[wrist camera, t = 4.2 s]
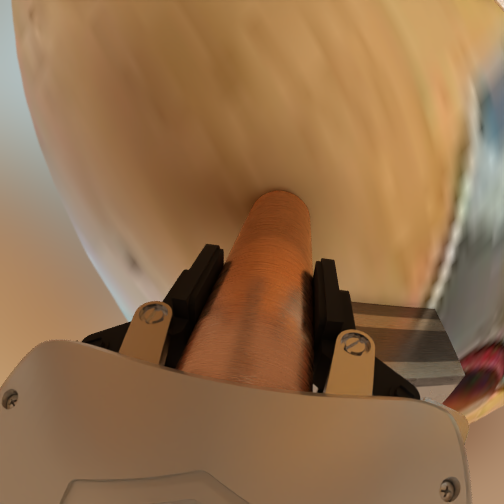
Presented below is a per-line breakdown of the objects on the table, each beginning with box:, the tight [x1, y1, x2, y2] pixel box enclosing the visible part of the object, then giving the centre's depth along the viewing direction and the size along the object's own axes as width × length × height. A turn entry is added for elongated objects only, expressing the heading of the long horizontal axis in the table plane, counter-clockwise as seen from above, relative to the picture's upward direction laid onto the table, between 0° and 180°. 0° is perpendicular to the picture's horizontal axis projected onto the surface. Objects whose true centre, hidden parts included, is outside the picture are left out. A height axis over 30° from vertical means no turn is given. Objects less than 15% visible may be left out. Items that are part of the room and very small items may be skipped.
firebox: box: [313, 302, 465, 404], centre depth 22 cm, size 14×14×8 cm
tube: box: [175, 191, 314, 392], centre depth 11 cm, size 4×4×17 cm
